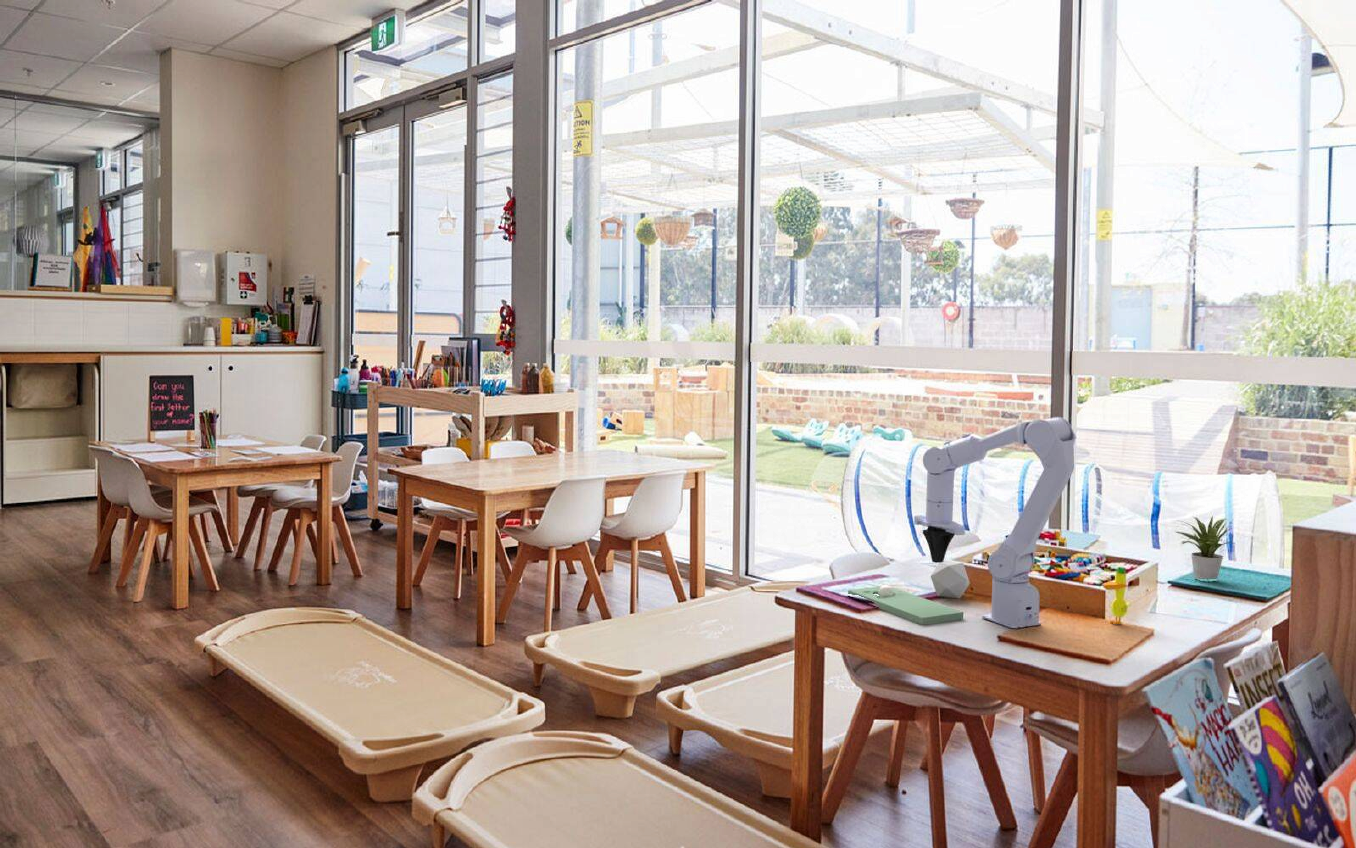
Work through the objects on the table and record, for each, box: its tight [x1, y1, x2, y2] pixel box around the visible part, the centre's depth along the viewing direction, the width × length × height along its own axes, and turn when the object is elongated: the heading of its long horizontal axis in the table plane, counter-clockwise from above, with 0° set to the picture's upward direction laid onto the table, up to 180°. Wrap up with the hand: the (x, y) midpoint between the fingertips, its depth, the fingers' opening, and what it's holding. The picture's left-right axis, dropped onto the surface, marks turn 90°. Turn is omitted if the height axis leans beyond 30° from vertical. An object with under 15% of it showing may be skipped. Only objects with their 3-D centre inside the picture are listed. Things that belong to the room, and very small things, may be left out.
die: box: [930, 561, 971, 599], centre depth 248 cm, size 8×9×10 cm
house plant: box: [1176, 516, 1236, 580], centre depth 269 cm, size 14×14×16 cm
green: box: [847, 585, 964, 626], centre depth 238 cm, size 26×11×2 cm, turn 27°
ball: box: [878, 584, 894, 597], centre depth 243 cm, size 4×4×4 cm
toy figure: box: [1101, 566, 1130, 625], centre depth 226 cm, size 7×4×12 cm, turn 106°
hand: (937, 562), depth 239 cm, fingers closed
